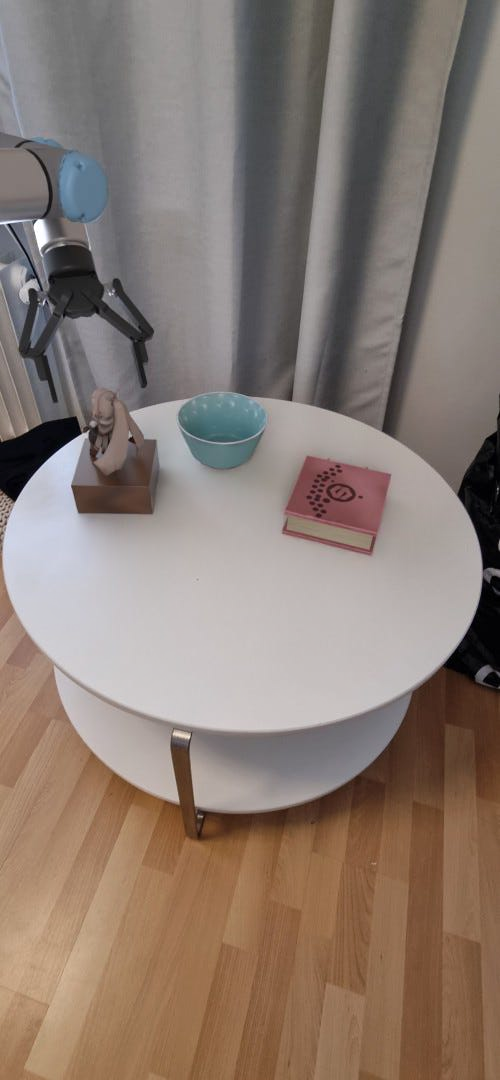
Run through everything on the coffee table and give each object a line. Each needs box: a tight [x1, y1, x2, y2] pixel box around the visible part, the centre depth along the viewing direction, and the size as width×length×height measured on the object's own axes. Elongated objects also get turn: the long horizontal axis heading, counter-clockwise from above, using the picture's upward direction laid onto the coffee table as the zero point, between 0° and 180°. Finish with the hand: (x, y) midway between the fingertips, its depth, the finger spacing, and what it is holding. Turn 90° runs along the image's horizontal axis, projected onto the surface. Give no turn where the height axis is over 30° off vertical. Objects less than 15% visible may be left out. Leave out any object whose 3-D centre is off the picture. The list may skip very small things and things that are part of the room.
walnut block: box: [70, 437, 160, 515], centre depth 96 cm, size 12×12×6 cm
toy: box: [81, 386, 145, 476], centre depth 89 cm, size 9×8×15 cm
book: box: [281, 454, 392, 557], centre depth 95 cm, size 14×15×5 cm
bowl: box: [175, 391, 269, 470], centre depth 103 cm, size 16×16×8 cm
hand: (100, 393), depth 90 cm, fingers open, 13 cm apart
